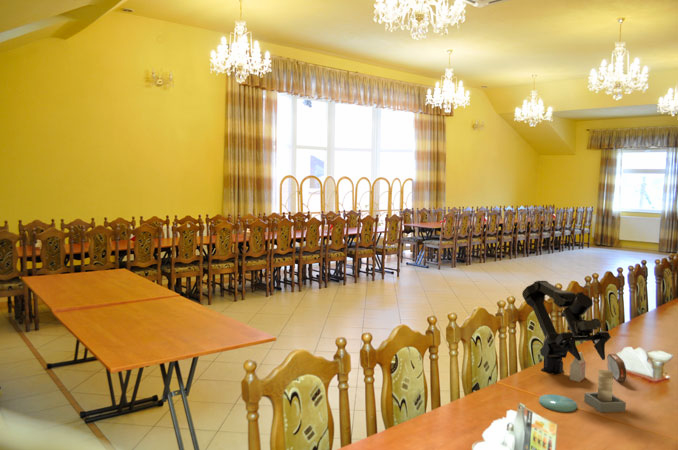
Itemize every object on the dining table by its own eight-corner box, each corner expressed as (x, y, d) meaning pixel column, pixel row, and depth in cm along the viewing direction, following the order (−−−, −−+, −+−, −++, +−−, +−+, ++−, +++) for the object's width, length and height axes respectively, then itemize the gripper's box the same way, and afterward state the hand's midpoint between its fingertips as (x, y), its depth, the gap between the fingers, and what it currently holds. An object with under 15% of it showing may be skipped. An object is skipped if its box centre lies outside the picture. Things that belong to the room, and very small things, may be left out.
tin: (626, 384, 193) (627, 363, 192) (617, 384, 193) (618, 362, 193) (613, 370, 207) (614, 350, 207) (605, 370, 208) (606, 350, 207)
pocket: (584, 401, 177) (584, 392, 177) (608, 400, 178) (608, 391, 178) (600, 412, 168) (600, 403, 168) (625, 411, 169) (625, 402, 169)
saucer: (532, 402, 176) (532, 399, 176) (551, 394, 183) (551, 391, 183) (564, 415, 166) (564, 412, 166) (583, 406, 173) (583, 403, 173)
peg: (594, 405, 174) (596, 371, 173) (601, 402, 176) (602, 369, 175) (607, 410, 170) (609, 375, 169) (614, 406, 173) (615, 372, 172)
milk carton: (569, 379, 197) (570, 354, 197) (575, 374, 202) (576, 350, 202) (579, 382, 195) (580, 356, 194) (585, 377, 200) (586, 352, 199)
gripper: (561, 310, 183) (577, 350, 173) (608, 309, 185) (627, 348, 175) (548, 326, 191) (563, 364, 181) (594, 325, 194) (611, 362, 184)
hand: (592, 359), depth 180 cm, fingers open, 9 cm apart
